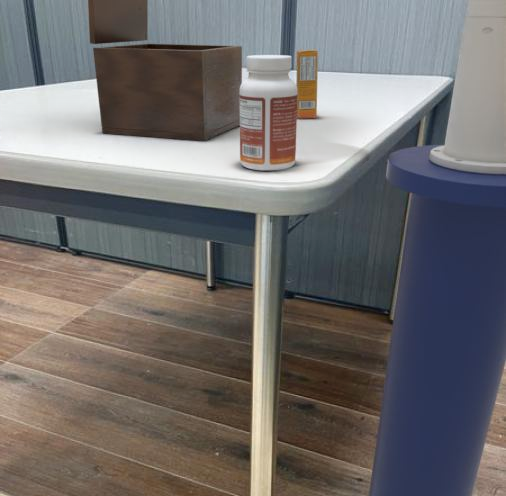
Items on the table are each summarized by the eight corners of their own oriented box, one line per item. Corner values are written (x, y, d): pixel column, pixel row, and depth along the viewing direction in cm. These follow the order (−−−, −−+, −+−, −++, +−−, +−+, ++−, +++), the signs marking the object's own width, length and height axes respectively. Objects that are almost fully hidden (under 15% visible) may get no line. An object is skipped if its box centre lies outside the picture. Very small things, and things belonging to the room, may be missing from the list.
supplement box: (293, 115, 98) (296, 49, 94) (314, 115, 99) (317, 49, 94) (295, 118, 96) (298, 50, 91) (316, 118, 96) (320, 50, 91)
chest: (242, 124, 90) (241, 46, 85) (204, 141, 78) (201, 50, 73) (150, 118, 95) (145, 43, 89) (102, 133, 82) (92, 47, 77)
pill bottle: (293, 159, 68) (298, 54, 63) (296, 172, 63) (301, 58, 58) (240, 159, 69) (240, 53, 63) (238, 171, 63) (238, 57, 58)
